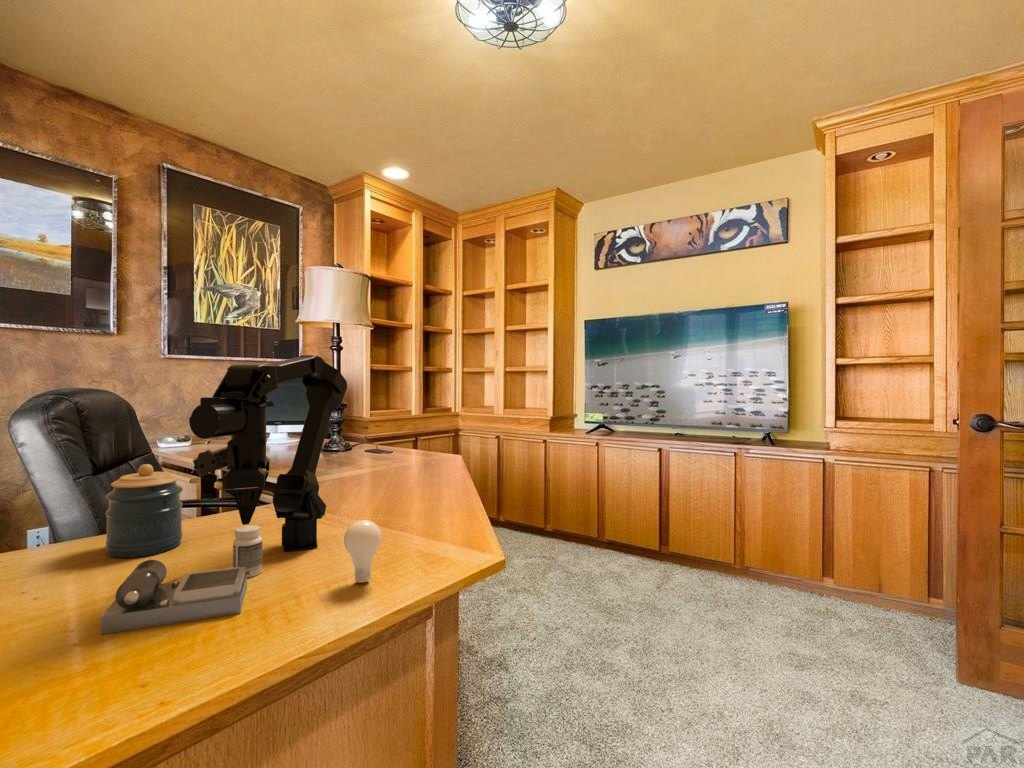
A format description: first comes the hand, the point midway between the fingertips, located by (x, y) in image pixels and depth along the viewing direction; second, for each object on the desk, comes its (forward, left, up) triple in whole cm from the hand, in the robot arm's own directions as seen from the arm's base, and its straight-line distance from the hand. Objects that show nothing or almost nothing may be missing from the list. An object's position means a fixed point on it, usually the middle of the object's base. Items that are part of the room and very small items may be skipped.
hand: (248, 517), depth 91 cm
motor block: (+8, +12, -10) cm, 18 cm away
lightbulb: (-19, +12, -11) cm, 25 cm away
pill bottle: (0, 0, -11) cm, 11 cm away
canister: (+21, -23, -11) cm, 33 cm away
